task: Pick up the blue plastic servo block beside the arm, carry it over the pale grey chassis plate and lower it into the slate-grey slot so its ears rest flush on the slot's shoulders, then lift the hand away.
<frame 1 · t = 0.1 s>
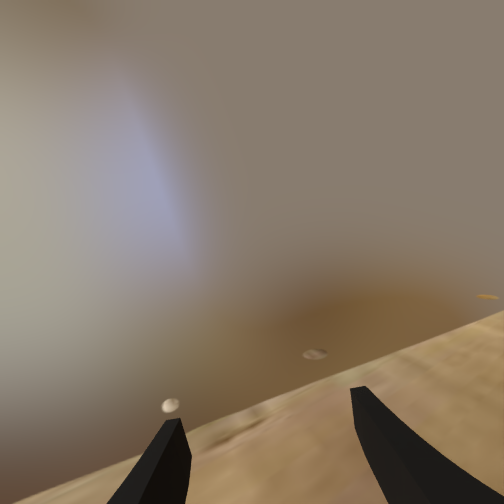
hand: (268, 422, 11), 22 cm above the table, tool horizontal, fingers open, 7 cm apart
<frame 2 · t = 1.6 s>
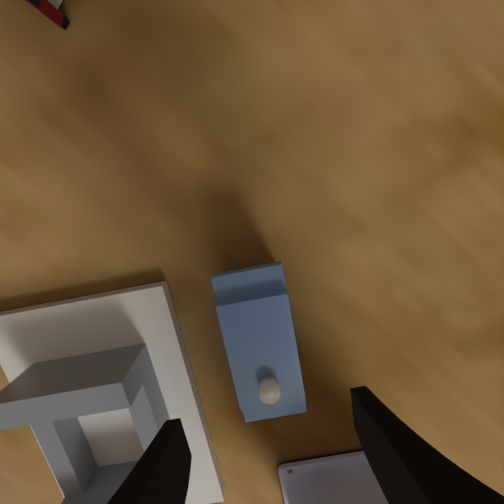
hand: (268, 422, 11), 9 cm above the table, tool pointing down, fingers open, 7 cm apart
servo: (259, 315, 21), on the table
chassis: (120, 409, 22), on the table
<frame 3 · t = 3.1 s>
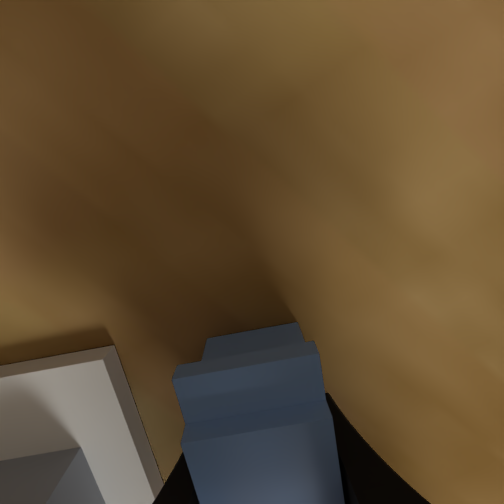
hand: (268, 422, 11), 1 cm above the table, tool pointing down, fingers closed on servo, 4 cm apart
servo: (266, 396, 13), on the table, touching gripper
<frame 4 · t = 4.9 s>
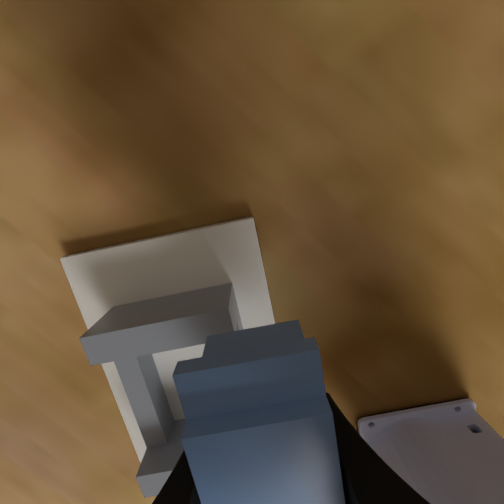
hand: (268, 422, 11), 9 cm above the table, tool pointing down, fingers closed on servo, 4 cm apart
servo: (266, 394, 13), point 8 cm above the table, touching gripper
chassis: (196, 360, 21), on the table
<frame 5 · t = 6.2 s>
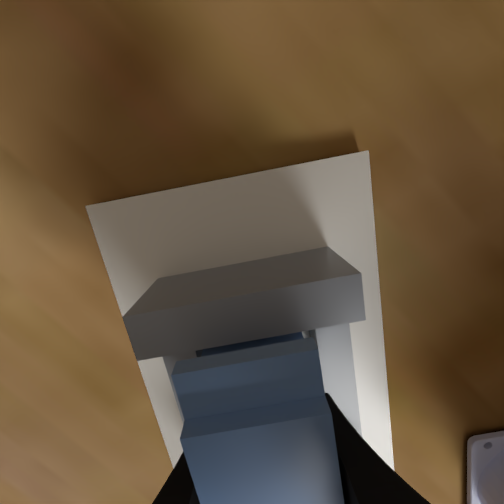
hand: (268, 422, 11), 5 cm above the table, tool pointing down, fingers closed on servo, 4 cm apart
servo: (265, 394, 13), point 3 cm above the table, touching gripper
chassis: (262, 356, 16), on the table
when the fingers open (4 cm above the table, at t = 7.1 s): servo drops 2 cm, resting on chassis.
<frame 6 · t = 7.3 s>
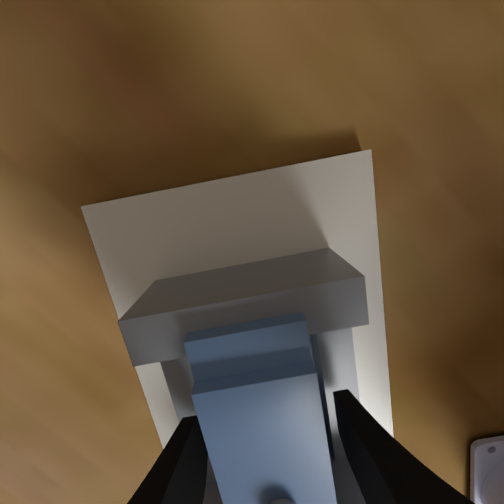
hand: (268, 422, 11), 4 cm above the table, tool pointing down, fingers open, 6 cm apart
servo: (263, 371, 14), point 1 cm above the table, touching chassis
chassis: (262, 359, 16), on the table
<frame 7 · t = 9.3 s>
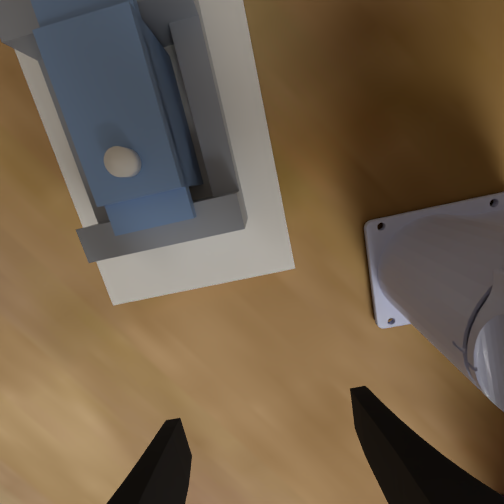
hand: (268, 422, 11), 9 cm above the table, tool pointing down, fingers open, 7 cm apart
servo: (155, 132, 16), point 1 cm above the table, touching chassis
chassis: (162, 136, 17), on the table
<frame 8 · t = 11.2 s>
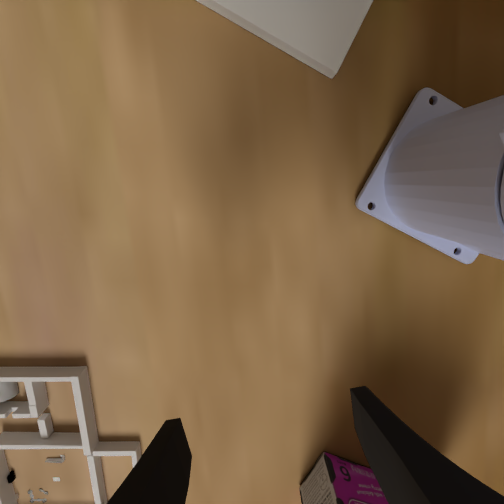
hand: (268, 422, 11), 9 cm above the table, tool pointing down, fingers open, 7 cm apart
floor plan model: (71, 451, 24), on the table
candy bar box: (362, 483, 25), on the table
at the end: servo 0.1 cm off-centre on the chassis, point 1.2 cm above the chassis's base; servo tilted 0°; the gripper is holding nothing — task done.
